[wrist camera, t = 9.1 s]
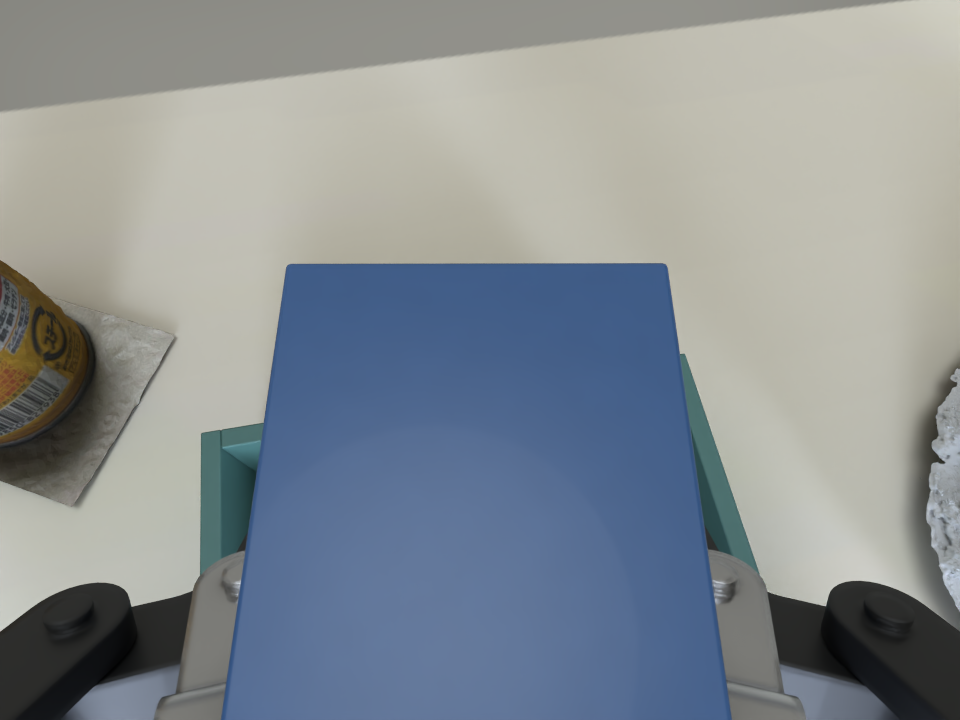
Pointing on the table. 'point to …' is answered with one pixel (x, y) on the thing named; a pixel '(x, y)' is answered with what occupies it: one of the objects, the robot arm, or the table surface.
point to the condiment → (65, 386)
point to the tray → (237, 453)
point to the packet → (476, 503)
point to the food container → (947, 491)
